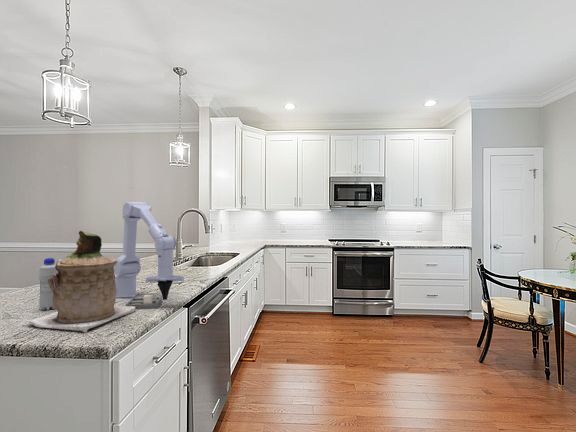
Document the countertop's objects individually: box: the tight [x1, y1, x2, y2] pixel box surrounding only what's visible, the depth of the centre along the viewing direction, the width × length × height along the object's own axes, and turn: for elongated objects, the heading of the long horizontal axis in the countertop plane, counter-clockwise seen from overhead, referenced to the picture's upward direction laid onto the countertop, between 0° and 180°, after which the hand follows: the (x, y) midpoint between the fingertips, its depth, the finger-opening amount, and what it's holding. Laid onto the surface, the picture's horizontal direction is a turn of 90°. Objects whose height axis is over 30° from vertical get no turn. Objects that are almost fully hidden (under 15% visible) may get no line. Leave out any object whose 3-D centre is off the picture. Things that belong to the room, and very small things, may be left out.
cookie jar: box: [26, 229, 136, 333], centre depth 113 cm, size 25×25×32 cm
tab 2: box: [147, 291, 158, 300], centre depth 133 cm, size 3×2×4 cm
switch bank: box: [125, 295, 163, 310], centre depth 129 cm, size 12×10×2 cm
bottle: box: [38, 257, 58, 311], centre depth 124 cm, size 7×7×20 cm
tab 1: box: [142, 294, 153, 304], centre depth 127 cm, size 3×2×4 cm
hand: (165, 299), depth 128 cm, fingers closed
